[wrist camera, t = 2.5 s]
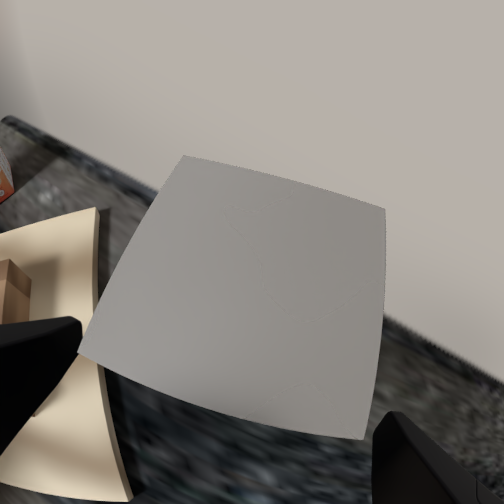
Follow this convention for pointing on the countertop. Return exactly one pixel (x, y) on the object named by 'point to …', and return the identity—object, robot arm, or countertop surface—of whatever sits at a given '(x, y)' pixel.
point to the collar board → (78, 375)
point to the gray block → (250, 300)
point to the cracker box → (5, 178)
